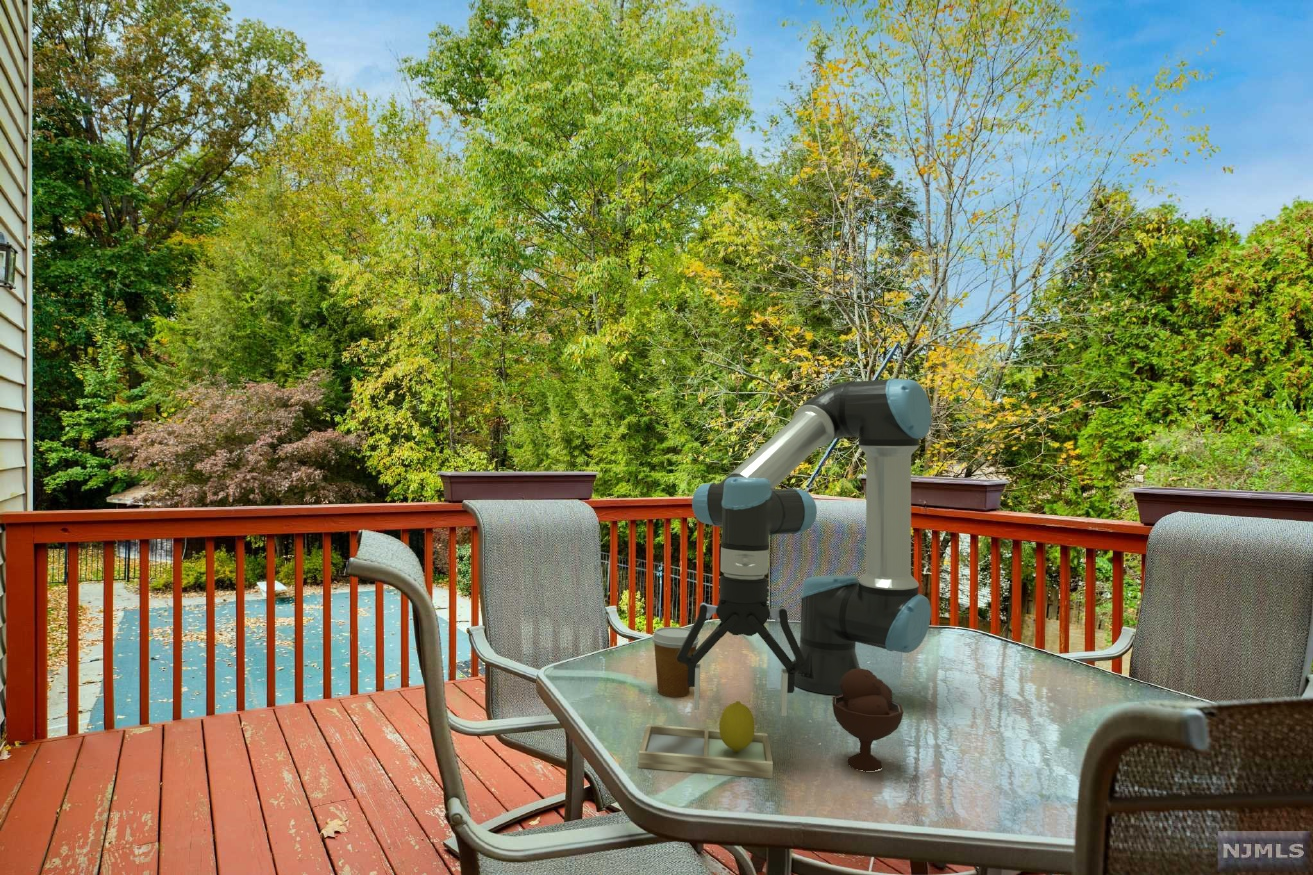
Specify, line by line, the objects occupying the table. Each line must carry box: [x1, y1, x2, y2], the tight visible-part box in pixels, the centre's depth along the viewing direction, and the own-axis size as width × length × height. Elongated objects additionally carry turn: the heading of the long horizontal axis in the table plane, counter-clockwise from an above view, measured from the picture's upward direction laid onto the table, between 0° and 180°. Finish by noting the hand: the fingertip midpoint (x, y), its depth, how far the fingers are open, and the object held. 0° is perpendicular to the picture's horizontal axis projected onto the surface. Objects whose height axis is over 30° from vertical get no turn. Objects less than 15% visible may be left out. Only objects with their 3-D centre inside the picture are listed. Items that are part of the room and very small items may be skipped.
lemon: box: [718, 700, 756, 753], centre depth 115 cm, size 6×6×8 cm
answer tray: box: [637, 724, 774, 779], centre depth 115 cm, size 20×12×2 cm, turn 85°
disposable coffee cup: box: [651, 626, 700, 698], centre depth 147 cm, size 10×10×12 cm
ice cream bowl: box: [831, 667, 904, 773], centre depth 115 cm, size 11×11×15 cm
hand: (739, 710), depth 115 cm, fingers open, 13 cm apart
